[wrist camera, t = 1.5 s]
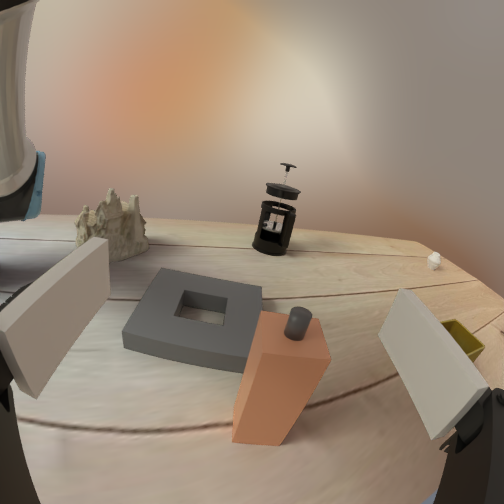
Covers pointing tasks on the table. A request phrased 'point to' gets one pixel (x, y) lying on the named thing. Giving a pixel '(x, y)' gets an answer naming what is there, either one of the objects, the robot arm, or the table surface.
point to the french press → (272, 233)
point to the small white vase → (434, 260)
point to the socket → (195, 321)
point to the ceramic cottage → (114, 226)
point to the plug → (279, 376)
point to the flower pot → (464, 338)
